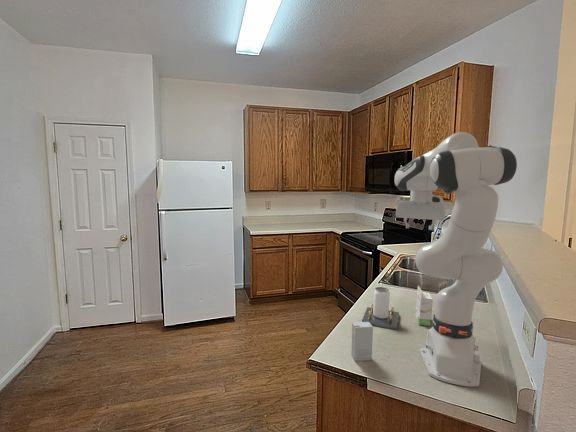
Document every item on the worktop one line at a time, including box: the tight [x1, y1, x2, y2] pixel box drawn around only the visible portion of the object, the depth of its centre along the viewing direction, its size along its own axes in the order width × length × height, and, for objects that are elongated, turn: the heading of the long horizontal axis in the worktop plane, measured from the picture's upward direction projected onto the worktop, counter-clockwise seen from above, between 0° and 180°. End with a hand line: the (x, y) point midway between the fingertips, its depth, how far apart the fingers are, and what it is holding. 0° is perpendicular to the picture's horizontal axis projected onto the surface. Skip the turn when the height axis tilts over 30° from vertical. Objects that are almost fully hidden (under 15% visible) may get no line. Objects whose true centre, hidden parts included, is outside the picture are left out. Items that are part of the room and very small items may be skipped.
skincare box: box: [351, 321, 374, 362], centre depth 109 cm, size 6×4×12 cm
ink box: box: [415, 285, 434, 327], centre depth 138 cm, size 9×5×15 cm, turn 168°
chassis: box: [361, 303, 400, 331], centre depth 140 cm, size 15×14×4 cm
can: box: [373, 286, 391, 319], centre depth 139 cm, size 6×6×12 cm
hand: (418, 228), depth 142 cm, fingers open, 8 cm apart
